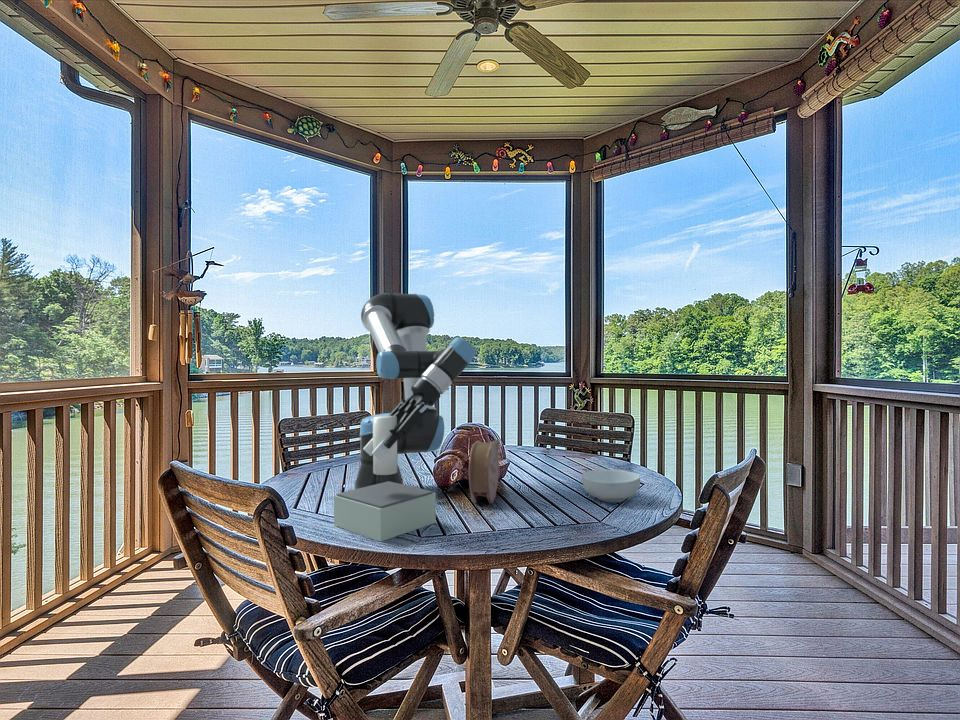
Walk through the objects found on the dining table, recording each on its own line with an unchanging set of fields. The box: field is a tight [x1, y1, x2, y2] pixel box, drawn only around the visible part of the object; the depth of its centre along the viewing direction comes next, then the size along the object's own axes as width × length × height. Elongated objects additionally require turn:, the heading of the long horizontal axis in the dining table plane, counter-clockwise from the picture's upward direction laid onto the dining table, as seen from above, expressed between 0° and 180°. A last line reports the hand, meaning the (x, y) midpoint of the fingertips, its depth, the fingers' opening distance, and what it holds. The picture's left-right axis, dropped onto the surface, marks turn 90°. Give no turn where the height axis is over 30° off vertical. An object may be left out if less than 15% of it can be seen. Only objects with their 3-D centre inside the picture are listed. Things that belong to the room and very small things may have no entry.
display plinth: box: [333, 481, 437, 542], centre depth 139 cm, size 18×18×8 cm
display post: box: [373, 416, 398, 475], centre depth 139 cm, size 6×6×14 cm
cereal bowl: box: [581, 468, 641, 503], centre depth 162 cm, size 17×17×7 cm
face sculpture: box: [468, 438, 501, 504], centre depth 163 cm, size 20×7×17 cm, turn 171°
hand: (371, 454), depth 137 cm, fingers closed on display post, 6 cm apart
